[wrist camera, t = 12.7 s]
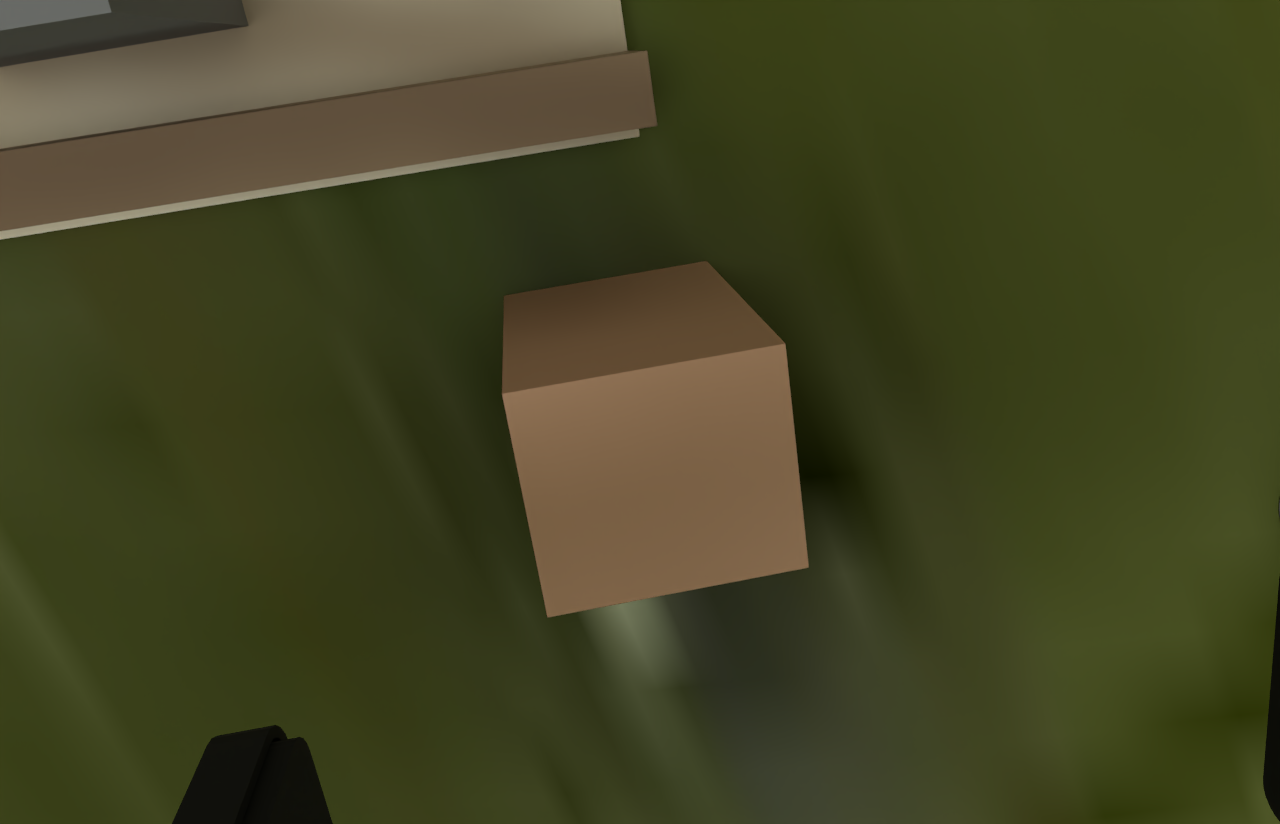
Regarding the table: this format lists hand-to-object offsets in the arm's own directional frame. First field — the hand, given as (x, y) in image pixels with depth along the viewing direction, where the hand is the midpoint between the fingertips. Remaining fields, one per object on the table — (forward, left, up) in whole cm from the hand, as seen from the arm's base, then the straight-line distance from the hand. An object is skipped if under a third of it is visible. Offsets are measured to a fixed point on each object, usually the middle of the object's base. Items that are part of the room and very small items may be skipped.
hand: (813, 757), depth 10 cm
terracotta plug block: (0, 0, -15) cm, 15 cm away
